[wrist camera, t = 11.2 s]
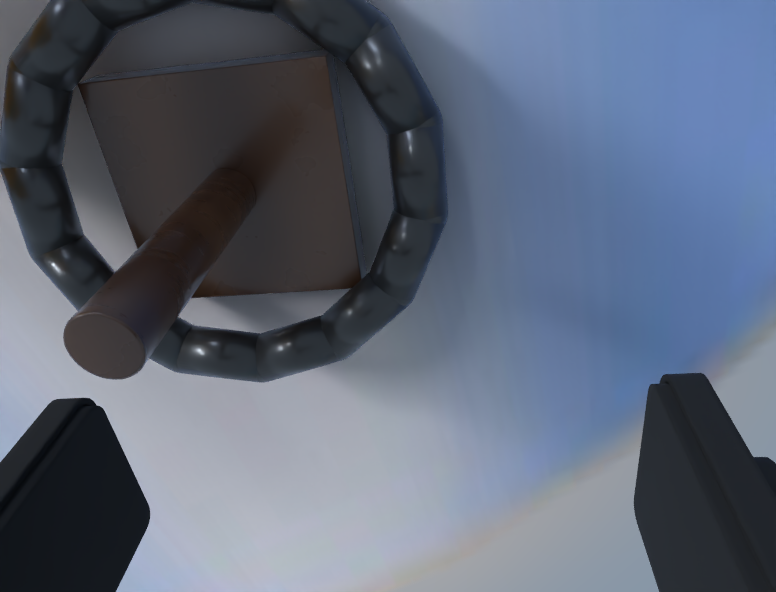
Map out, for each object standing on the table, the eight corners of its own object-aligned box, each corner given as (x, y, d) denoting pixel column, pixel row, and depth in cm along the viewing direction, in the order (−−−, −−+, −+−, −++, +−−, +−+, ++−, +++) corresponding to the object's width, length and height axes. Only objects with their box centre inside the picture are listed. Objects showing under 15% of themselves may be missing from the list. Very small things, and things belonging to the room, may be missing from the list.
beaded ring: (93, 380, 27) (70, 406, 25) (-46, -37, 20) (-90, -44, 19) (454, 352, 26) (459, 376, 24) (428, -92, 20) (431, -105, 18)
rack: (169, 283, 27) (13, 482, 17) (97, 75, 23) (-169, 185, 13) (367, 270, 26) (318, 476, 16) (332, 48, 22) (237, 148, 12)
